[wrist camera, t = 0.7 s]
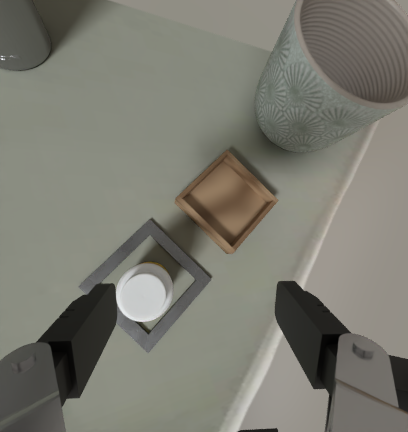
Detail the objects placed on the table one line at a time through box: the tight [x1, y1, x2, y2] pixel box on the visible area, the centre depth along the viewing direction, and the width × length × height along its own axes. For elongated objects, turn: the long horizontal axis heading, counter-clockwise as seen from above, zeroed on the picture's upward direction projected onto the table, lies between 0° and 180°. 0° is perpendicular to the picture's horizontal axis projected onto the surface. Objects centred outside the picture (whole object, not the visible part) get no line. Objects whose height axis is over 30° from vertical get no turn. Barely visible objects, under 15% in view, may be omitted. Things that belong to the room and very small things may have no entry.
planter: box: [255, 0, 408, 152], centre depth 30 cm, size 17×17×15 cm
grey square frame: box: [79, 220, 211, 353], centre depth 28 cm, size 12×12×1 cm
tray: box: [175, 150, 278, 254], centre depth 32 cm, size 11×11×3 cm
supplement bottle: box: [116, 262, 173, 322], centre depth 24 cm, size 6×6×10 cm
